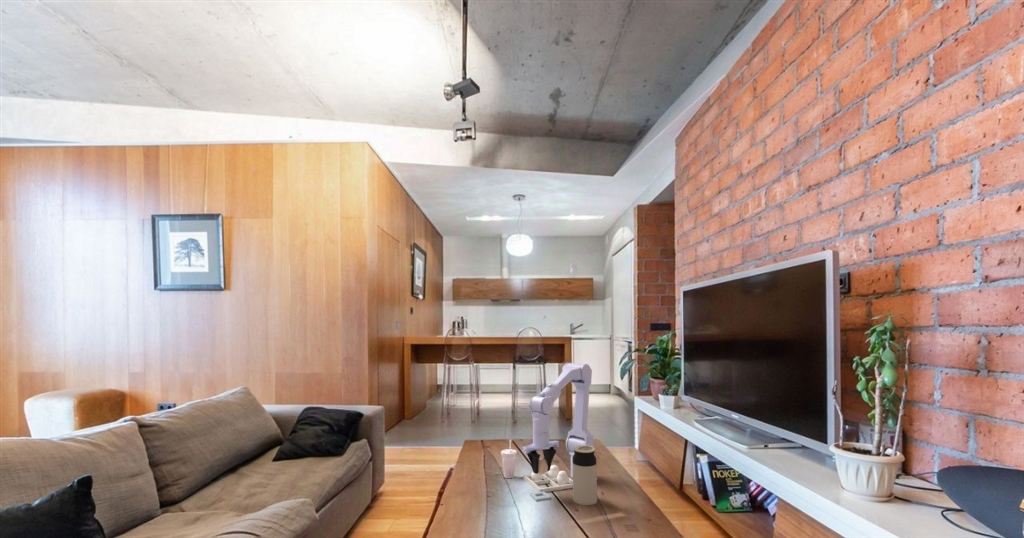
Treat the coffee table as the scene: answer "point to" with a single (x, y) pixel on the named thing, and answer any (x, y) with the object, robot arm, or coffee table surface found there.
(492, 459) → the coffee table surface
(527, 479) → the carton
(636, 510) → the coffee table surface
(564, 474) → the white eggs
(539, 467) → the brown egg
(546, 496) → the egg cup
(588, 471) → the travel mug
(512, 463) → the smoothie
